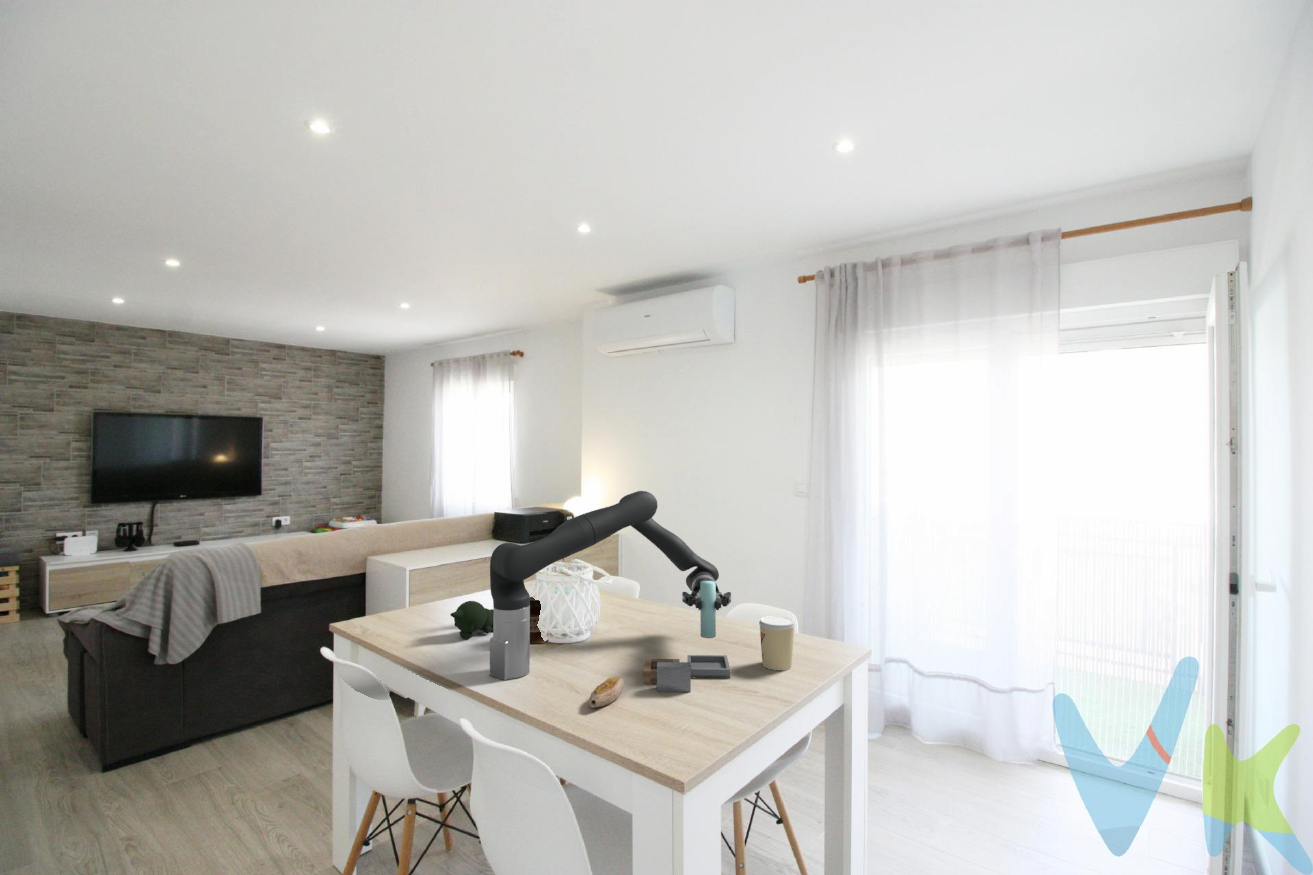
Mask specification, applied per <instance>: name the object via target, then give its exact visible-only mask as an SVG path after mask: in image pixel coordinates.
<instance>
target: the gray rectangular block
mask: <svg viewBox="0 0 1313 875" xmlns="http://www.w3.org/2000/svg"><path fill="white" fill-rule="evenodd" d="M691 679H692V678H691V666H690V662H687V661H686V662H684V661H680V662H657V684H656V692H657V693H691V691H692V690H691V688H692V686H691V682H692V681H691Z"/></svg>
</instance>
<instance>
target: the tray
mask: <svg viewBox="0 0 1313 875" xmlns="http://www.w3.org/2000/svg"><path fill="white" fill-rule="evenodd" d="M728 659H729V658H728V656H727V655H724V654H723V655H722V654H720V655H719V654H716V655H715V654H714V655H713V654H711V655H710V654H709V655H707V654H695V655H694V654H687V659H686V660H687V661H686V662H690V666H691V679H693V678H695V679H697V678H698V679H702V678H703V679H731V666H730V663H729V660H728Z"/></svg>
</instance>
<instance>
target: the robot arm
mask: <svg viewBox="0 0 1313 875" xmlns="http://www.w3.org/2000/svg"><path fill="white" fill-rule="evenodd" d="M657 509H658V500H657V498H656V496H654V494H653V493H651V492H649V491H645V490H638V491H635V492H632V493H629V494H625V495H624V496H623V497H622V498H621V499H620V500H619V501H618V502H617V503H615V504H612V505H609V506H605V507H602V508H599V509H595V510H591V511H588V512H585V513H583V514H580V515H577V516H575V517H573V518H570V519H568V520H565V521H564V522H563V523H561V524H560V525H558V526H557V527H556V528H555V529H554V530H553V531H552V532H551V533H550V534H548V535H547V536H545V537H543V538H541V539H539V540H535V541H533V542H529V543H526V544H522V545H521V544H517V543H512V542H503V543H501V544H499V545H498V546H496V548H494V550H493V551H492V553H491V557H490V560H489V578H490V579H489V584H490V585H489V586H490V594H491V598H492V603H493V604H492V605H493V607H492V608H493V629H492V633H493V634H492V635H493V636H492V637H490V638H489V675H490V676H491V677H495V678H497V679H500V680H503V681H508V680H511V679H512V680H513V679H517V678H518V679H519V678H522V677H524V676H526V675H528V674H529V673H530V665H531V664H530V659H531V658H530V657H531V656H530V655H531V654H530V648H531V647H530V644H531V643H530V597H531V596H530V593H529V592H528V590H527V588H526V586H525V580H526V579H528V578H530V577H532V576H534V575H535V574H537V573H539V572H540V571H542V570H543V569H545V568H547V567H548V566H550V565H552V564H555V563H556V562H558V561H561V560H563V559H566V558H568V557H570V556H572V555H574V554H576V553H579V552H582V551H584V550H586V549H588V548H590V547H593V546H594V545H597V544H598V543H600V542H601V541H604V540H605V539H607V538H610V537H611V536H612V535H615V534H616V533H617V532H619V531H621V530H623V529H625V528H628V527H630V526H631V527H632V528H633V529H634V530H635V531H637V532H638V533H639V534H641V535H642V536H643V537H644V538H646V539H647V540H649V542H651V544H653V545H654V546H655V547H656V548H657V549H659V550H660V551H661V552H662V553H663V554H664V556H665V557H666V558H668V560H669V561H670V562H671V563H672V564H673V565H674V566H675V567H676V568H677V569H678V570H679V571H680V572H686V571H688V570H690V569H692V568H694V567H696V568H694V569H693V570H692V571H691V572H690V573H689V574H688V575H687V576H686V578H685V584H686V586H687V588H688V589H689V590H690V591H691V593H690V592H687V591H683V592H682V595H681V596H682V598H681V599H682V602H683V603H684V604H685V605H687V606H688V607H693V606H695V609H698V610H697V611H700V610H701V599H700V582H702V581H714V582H716V611H720V609H722V607H724V608H725V607H728V606H729V605H730V604H731V603H732V592H730V591H727V592H725V593H722V592H721V591H720V590H719V586H718V583H717V580H719V578H720V574H719V573H720V572H719V570H718V568H717V567H716V566H715V565H714V564H712V563H711V562H709V561H708V560H707V559H704V558H702V557H701V556H699V555H698V554H697V553H696V552H694V551H693V550H692V549H691V548H690V547H689V545H688V544H687V543H686V542H685V541H684V540H683V539H682V538H681V537H679V536H678V535H676V534H675V533H674V532H672V531H670V530H668V529H667V528H665V527H663V526H662V525H660V523H658V522H657V521H656V520H654V519H653V517H654V516H655V514H656V513H657Z"/></svg>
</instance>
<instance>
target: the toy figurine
mask: <svg viewBox="0 0 1313 875" xmlns="http://www.w3.org/2000/svg"><path fill="white" fill-rule="evenodd" d="M450 617H452V618H453V621H454V627H457V629H458V630H460V632H459V637H460V638H462V639H464V640H470V639H472V637H473V635H474V634H473V633H475V632H479V631H480V632H481V631H482V632H483V634H486V635H488V634H490V633H491V632H492V630H493V609H492V608H491V609H489V608H487V607H484V605H483V604H481V603H480V602H478V601H476V600H475V601H474V600H467V601H465V602H462V603H461V604H459V606H458V607H457V608H456V610H455V611H454V612H451V613H450Z"/></svg>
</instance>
